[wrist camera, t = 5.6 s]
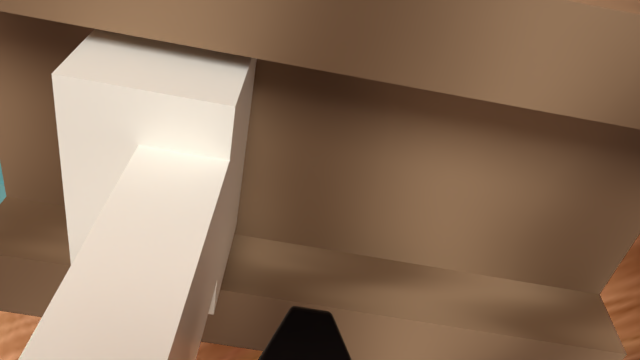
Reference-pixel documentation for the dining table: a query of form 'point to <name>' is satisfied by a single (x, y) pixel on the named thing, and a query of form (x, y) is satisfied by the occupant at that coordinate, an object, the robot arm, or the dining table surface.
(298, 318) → the robot arm
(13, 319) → the dining table surface
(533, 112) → the launcher deck
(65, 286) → the white offset block
